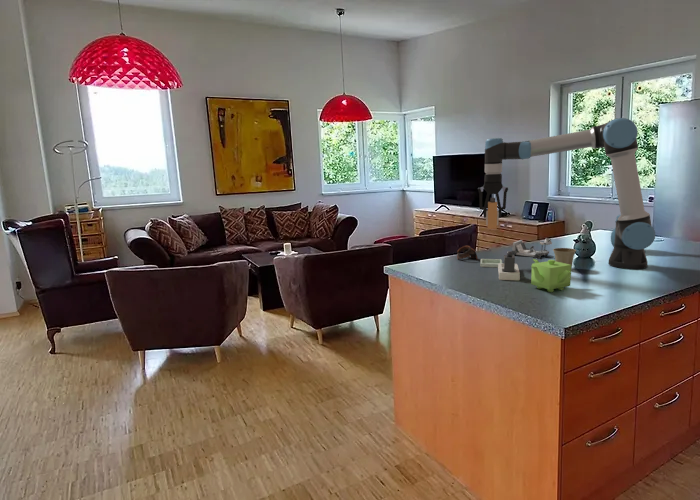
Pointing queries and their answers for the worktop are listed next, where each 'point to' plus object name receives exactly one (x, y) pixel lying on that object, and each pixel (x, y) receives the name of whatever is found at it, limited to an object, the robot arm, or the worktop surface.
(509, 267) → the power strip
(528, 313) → the worktop surface
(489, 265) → the tray
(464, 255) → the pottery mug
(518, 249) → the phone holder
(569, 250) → the flower pot
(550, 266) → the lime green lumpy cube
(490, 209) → the plug
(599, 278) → the worktop surface
